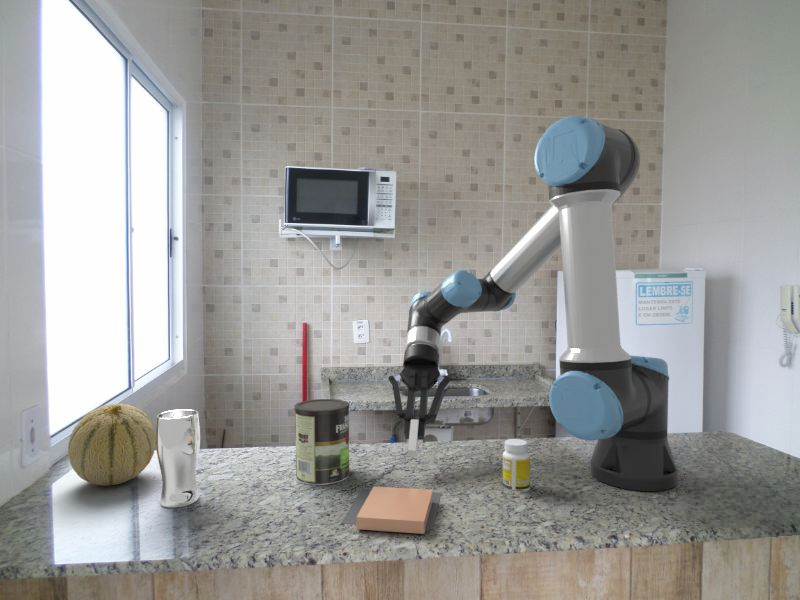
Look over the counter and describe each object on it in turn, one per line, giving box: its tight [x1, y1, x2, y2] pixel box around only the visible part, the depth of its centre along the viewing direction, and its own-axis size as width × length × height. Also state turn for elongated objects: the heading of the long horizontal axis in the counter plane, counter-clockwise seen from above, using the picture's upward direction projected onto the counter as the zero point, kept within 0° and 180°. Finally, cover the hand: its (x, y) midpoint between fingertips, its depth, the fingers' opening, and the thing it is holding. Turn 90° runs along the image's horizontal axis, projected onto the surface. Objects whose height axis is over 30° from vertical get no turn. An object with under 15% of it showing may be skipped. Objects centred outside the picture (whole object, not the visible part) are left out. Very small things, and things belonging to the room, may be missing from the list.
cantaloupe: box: [67, 403, 156, 487], centre depth 101 cm, size 15×15×15 cm
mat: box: [340, 487, 442, 531], centre depth 88 cm, size 14×14×1 cm
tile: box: [356, 485, 434, 535], centre depth 84 cm, size 10×2×12 cm
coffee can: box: [293, 398, 350, 486], centre depth 102 cm, size 10×10×14 cm
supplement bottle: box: [502, 438, 531, 493], centre depth 97 cm, size 5×5×8 cm
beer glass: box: [155, 408, 201, 509], centre depth 92 cm, size 7×7×15 cm
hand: (412, 453), depth 101 cm, fingers closed
